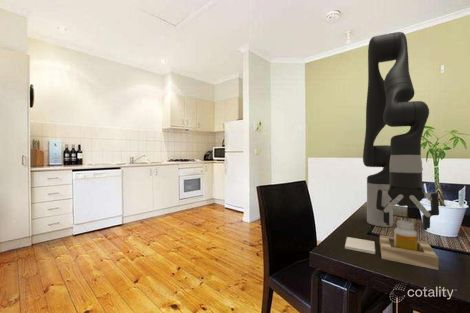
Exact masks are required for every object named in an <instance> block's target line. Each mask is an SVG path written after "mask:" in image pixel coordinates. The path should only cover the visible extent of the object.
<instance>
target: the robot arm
mask: <svg viewBox="0 0 470 313" xmlns="http://www.w3.org/2000/svg"><path fill="white" fill-rule="evenodd" d="M407 40H408V39H407V36H406V34H405V33H404V32H402V31H395V32H390V33H385V34H378V35H375V36H372V37H371V38H370V40H369V41H368V42H369V43H368V46H367V48H368V49H367V68H368V70H367V77H368V78H367V93H366V94H367V95H366V104H365V105H366V106H365V133H364V134H365V135H364V136H365V137H364V142H363V144H364V145H363V151H362V152H363V153H362V162H363V164H364V166H365V167H367V168H382V170H380V171H379V172H376V173H374V174H369V175H368V176H367V177H366V223H367V224H369V225H372V226H376V227H384V228H385V227H386V228H388V227H389V228H390V227H391V228H392V227H393V225H394V220H393V219H394V216H393V215H394V207H395V206H398V207H408V208H414V207H417V209H419V211H420V212H421V213H422V216H421V217H422V218H421V219H422V220H421V224H422V226H421V227H422V230H423V231H428V229H430V228H431V217H433V216H439V215H440V208H439V195H438V193H436V192H434V191H431V192H424V191H423V169H424V168H423V161H422V156H421V155H422V137H423V134H424V129H425V126H426V124H427V121H428V118H429V115H430V108H429V105H428V104H427V103H426V102H425V101H422V100H414V101H413V98H414V96H415V89H414V85H413V81H412V78H411V75H410V67H409V66H410V64H409V63H410V62H409V50H408V41H407ZM392 61H395V63H394V64H393V65H392V67H391V68H390V69H389V71H388V72H387V73H386V75H385V78H383V75H381V72H380V71H381V70H380V66H379V64H380V63H386V62H392ZM411 100H412V101H411ZM386 125H387V126H388V127H391V128H395V127H396V128H398V127H400V128H401V127H409V128H410V129H409V130H408V132H406V133H401V134H396V135H393V136H392V137H391V138H390V145H388V144H387V145H383V144H380V145H375V142H376V139H377V137H378V136H379V134H380V132H381V131H382V130H383V129H384V128H385V127H386ZM425 197H426V199H427V200H428V201H430V202H429V203H430V210H427V208H425V206H424V205H423V204H422V203H421V201H422V200H423V199H424V198H425Z"/></svg>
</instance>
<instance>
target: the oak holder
mask: <svg viewBox="0 0 470 313" xmlns="http://www.w3.org/2000/svg"><path fill="white" fill-rule="evenodd" d="M379 248H380V254H381V259H382V260H385V261H392V262H396V263H402V264H406V265H412V266H416V267H422V268H427V269H432V270H437V271H439V257H438V255H437V254H436V252H435V251H434V250H433V248H432V247H431V245H430V244H429V243H428V242H427V241H422V240H417V251H412V250H406V249H400V248H394V236H388V235H383V234H382V235H379Z"/></svg>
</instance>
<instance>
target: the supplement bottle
mask: <svg viewBox="0 0 470 313" xmlns="http://www.w3.org/2000/svg"><path fill="white" fill-rule="evenodd" d="M396 226H397V227H395V228H394V229H393V237H394V248H400V249H406V250H412V251H417V241H418V232H417V231H416V230H414V229H415V223H414V222H412V221H409V220H405V219H404V220H403V219H402V220H401V219H399V220H397V221H396Z"/></svg>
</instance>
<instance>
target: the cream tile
mask: <svg viewBox="0 0 470 313" xmlns="http://www.w3.org/2000/svg"><path fill="white" fill-rule="evenodd" d="M344 249H345V250H349V251H350V250H352V251H357V252H361V253H367V254H372V255H376V244H375V241H373V240H369V239H362V238H356V237H349V236H346V239H345V245H344Z"/></svg>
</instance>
